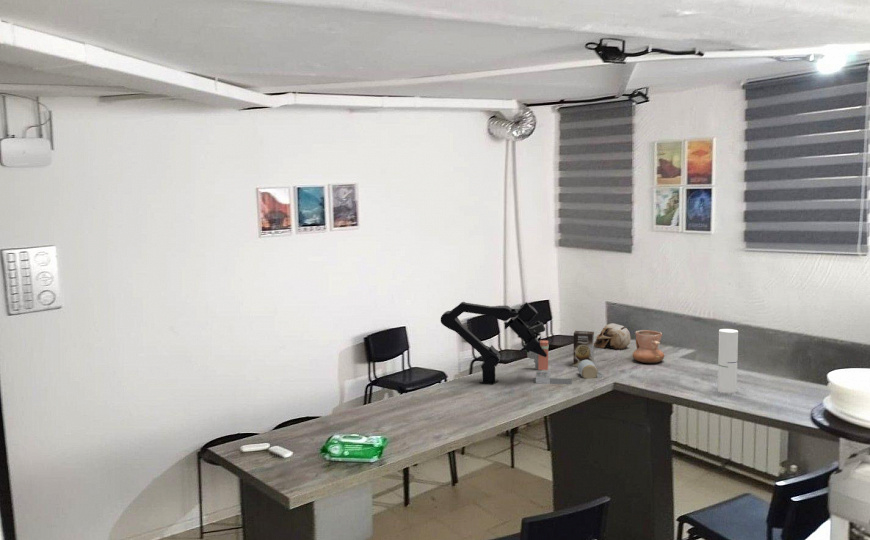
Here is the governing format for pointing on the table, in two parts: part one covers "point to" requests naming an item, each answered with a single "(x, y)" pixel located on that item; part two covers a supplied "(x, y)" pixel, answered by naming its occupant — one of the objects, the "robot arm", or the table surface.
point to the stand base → (559, 381)
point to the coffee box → (583, 347)
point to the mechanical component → (533, 356)
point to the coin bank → (613, 337)
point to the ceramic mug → (588, 369)
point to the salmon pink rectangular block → (541, 359)
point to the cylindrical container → (727, 360)
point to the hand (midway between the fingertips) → (546, 355)
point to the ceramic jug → (648, 347)
